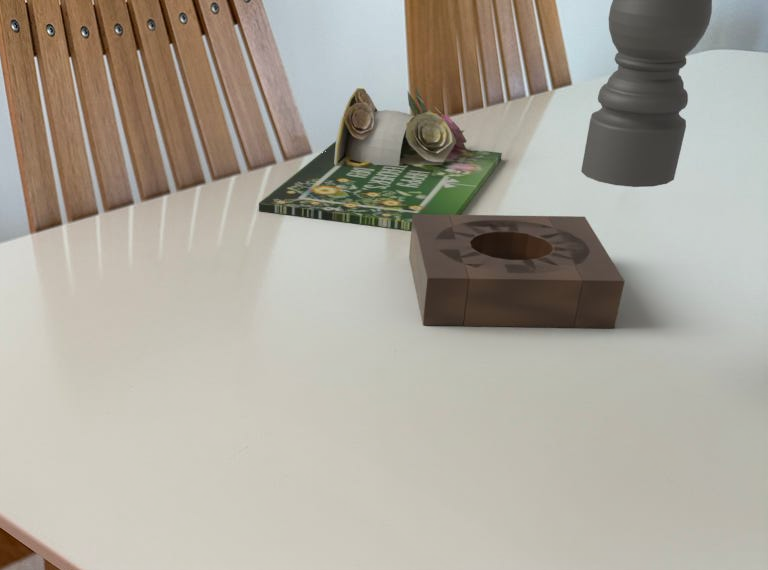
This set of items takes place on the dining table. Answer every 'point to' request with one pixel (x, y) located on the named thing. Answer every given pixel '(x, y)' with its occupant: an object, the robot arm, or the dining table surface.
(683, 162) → the dining table surface
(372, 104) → the decorative card
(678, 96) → the grey baluster
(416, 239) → the holder
